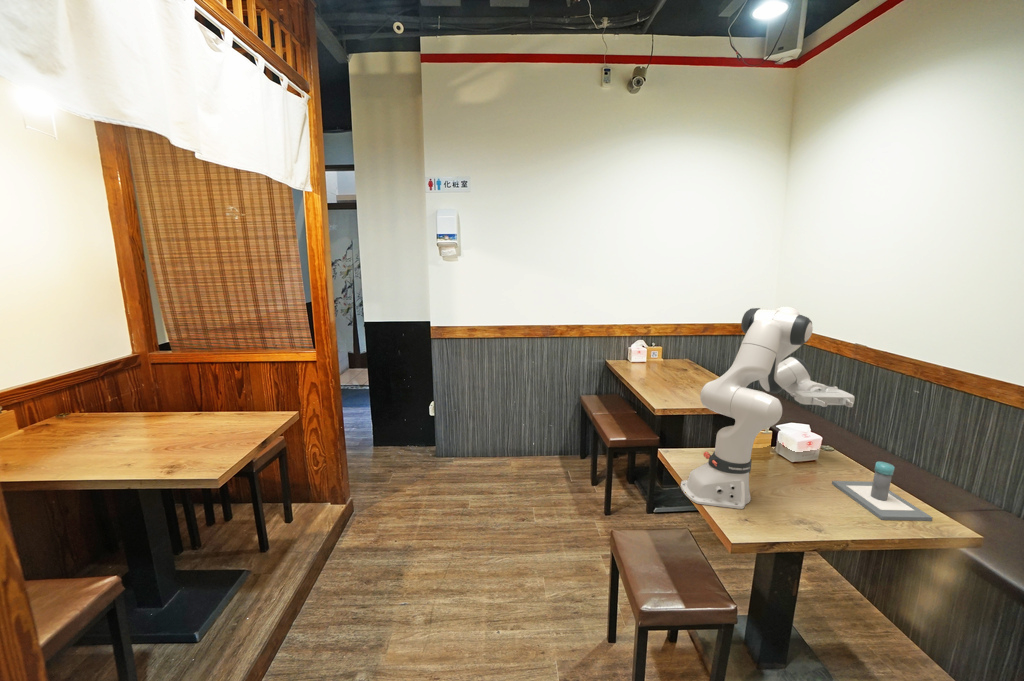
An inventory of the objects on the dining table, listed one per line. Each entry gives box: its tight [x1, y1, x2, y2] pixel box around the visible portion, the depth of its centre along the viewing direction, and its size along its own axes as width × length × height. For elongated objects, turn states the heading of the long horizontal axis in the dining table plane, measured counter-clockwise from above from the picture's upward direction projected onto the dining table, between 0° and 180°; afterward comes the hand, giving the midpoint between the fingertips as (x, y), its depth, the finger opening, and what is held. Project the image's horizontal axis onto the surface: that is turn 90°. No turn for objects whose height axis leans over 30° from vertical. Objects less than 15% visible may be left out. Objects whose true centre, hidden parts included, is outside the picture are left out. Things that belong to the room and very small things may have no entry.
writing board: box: [831, 480, 934, 522], centre depth 148 cm, size 16×22×1 cm
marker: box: [871, 461, 896, 501], centre depth 147 cm, size 5×5×12 cm
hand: (838, 405), depth 160 cm, fingers open, 8 cm apart
